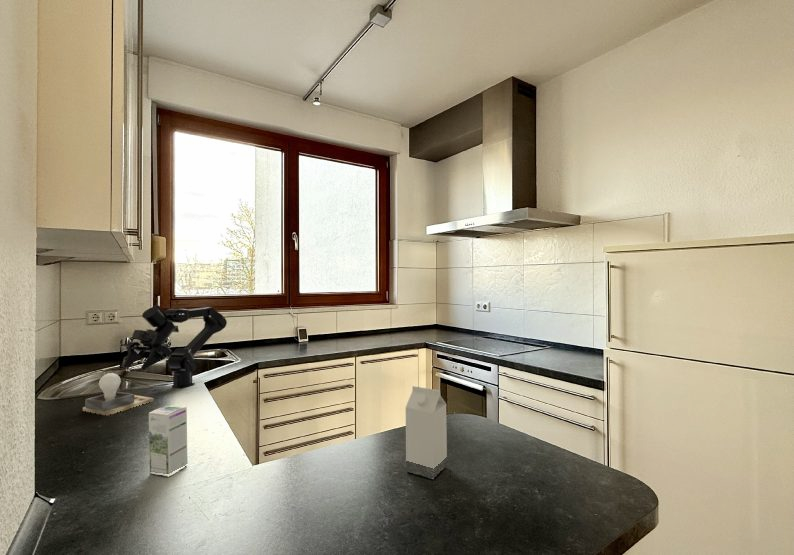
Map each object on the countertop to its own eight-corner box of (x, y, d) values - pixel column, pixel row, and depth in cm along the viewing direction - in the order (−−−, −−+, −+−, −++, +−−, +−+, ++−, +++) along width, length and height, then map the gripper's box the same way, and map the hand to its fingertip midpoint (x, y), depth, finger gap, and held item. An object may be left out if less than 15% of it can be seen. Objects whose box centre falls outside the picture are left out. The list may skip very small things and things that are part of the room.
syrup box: (188, 466, 93) (188, 405, 93) (168, 478, 87) (167, 414, 87) (169, 463, 94) (169, 403, 94) (148, 475, 89) (147, 412, 89)
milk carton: (420, 460, 95) (419, 382, 95) (447, 467, 91) (446, 386, 91) (405, 473, 89) (405, 390, 89) (434, 481, 85) (433, 394, 85)
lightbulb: (109, 402, 138) (109, 371, 139) (125, 402, 138) (125, 371, 138) (94, 407, 132) (94, 375, 132) (111, 407, 132) (110, 375, 132)
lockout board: (130, 397, 148) (130, 386, 148) (153, 401, 143) (153, 390, 143) (82, 410, 133) (82, 398, 133) (106, 415, 128) (106, 403, 128)
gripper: (129, 320, 151) (99, 354, 140) (164, 322, 144) (135, 357, 134) (149, 338, 158) (121, 371, 148) (183, 340, 152) (156, 375, 141)
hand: (133, 368), depth 142 cm, fingers open, 9 cm apart
